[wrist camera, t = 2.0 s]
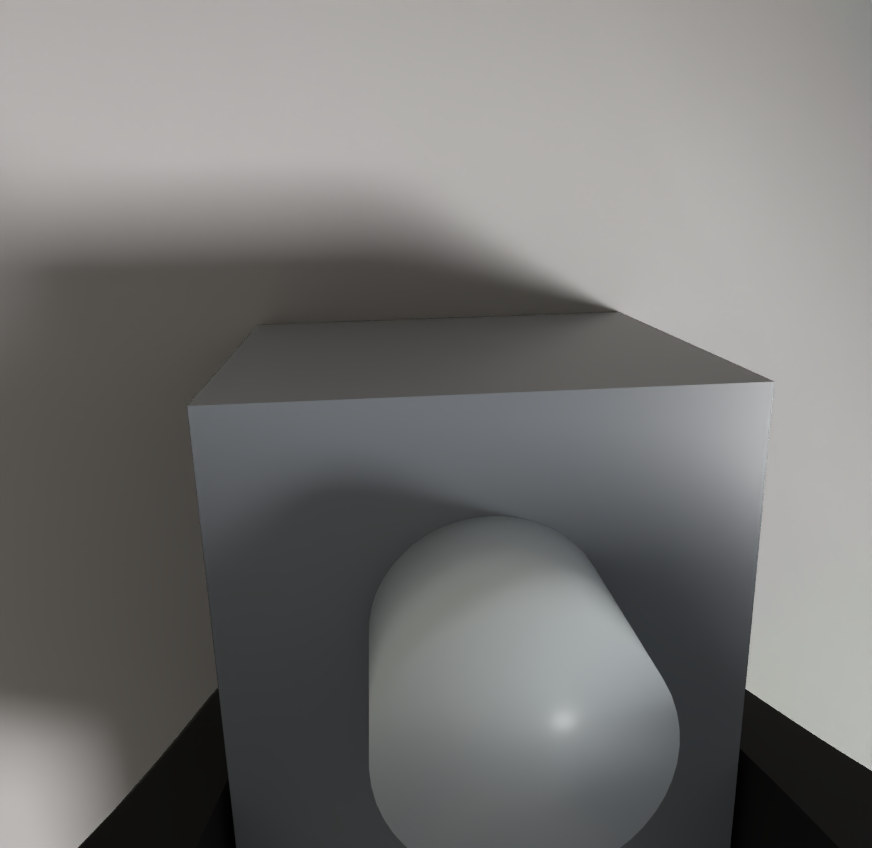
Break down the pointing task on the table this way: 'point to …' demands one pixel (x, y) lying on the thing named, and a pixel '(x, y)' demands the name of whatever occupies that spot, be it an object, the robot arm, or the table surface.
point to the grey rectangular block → (481, 581)
